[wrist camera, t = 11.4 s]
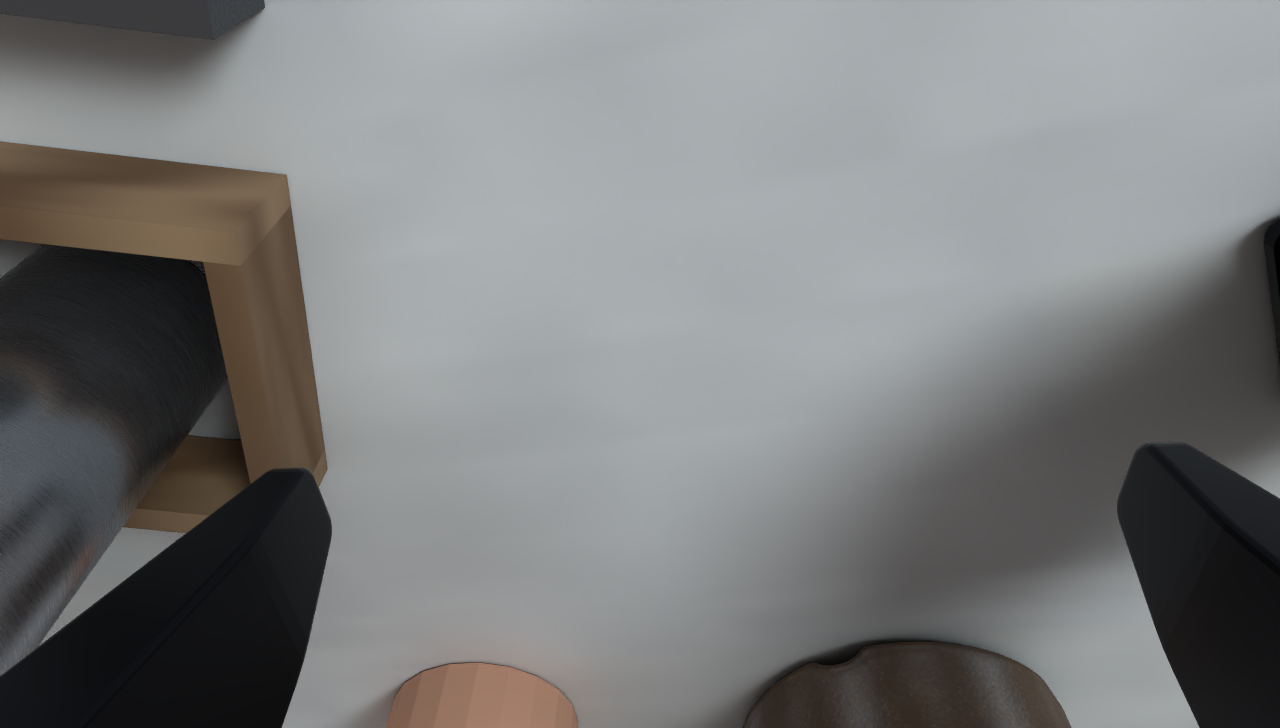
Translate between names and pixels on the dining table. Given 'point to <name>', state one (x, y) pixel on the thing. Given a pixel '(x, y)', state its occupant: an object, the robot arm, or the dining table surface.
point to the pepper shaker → (479, 700)
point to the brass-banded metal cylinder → (89, 413)
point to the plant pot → (911, 692)
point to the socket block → (143, 14)
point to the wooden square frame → (239, 289)
